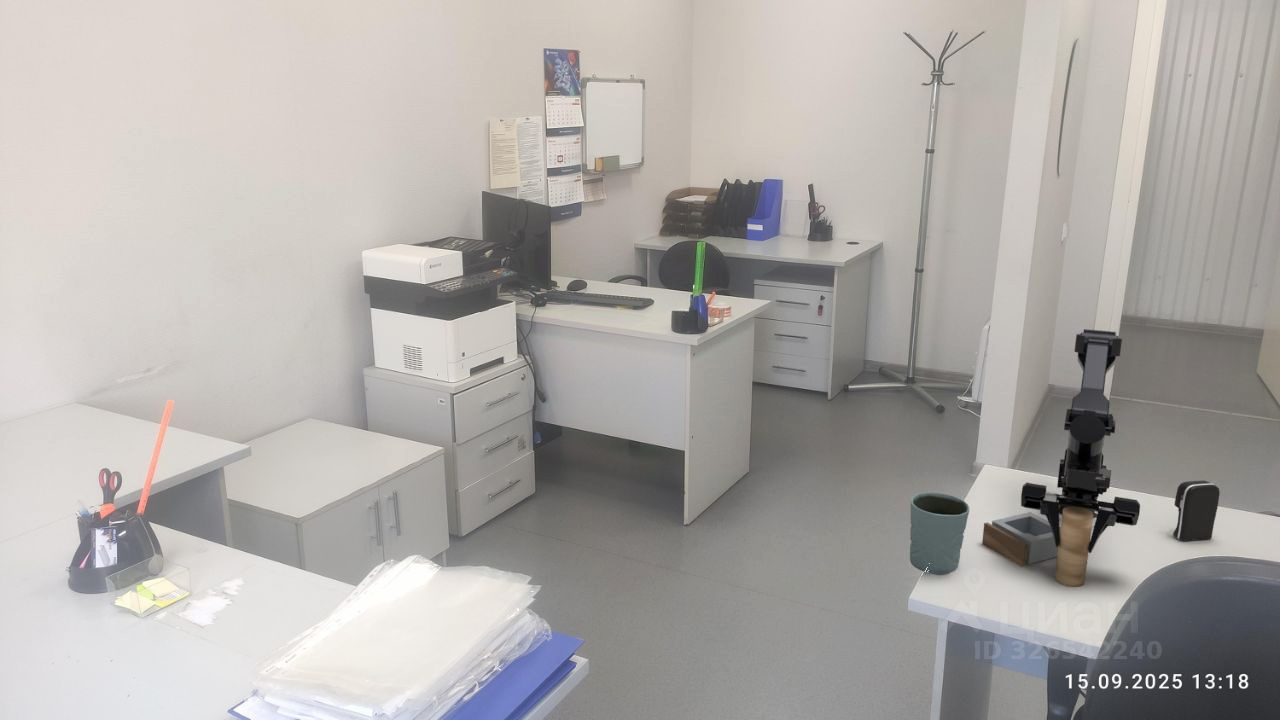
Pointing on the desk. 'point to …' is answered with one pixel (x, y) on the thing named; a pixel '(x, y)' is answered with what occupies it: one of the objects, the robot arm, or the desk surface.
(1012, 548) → the backstop wall
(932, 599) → the desk surface
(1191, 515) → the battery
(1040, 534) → the socket block
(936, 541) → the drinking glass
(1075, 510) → the oak dowel
